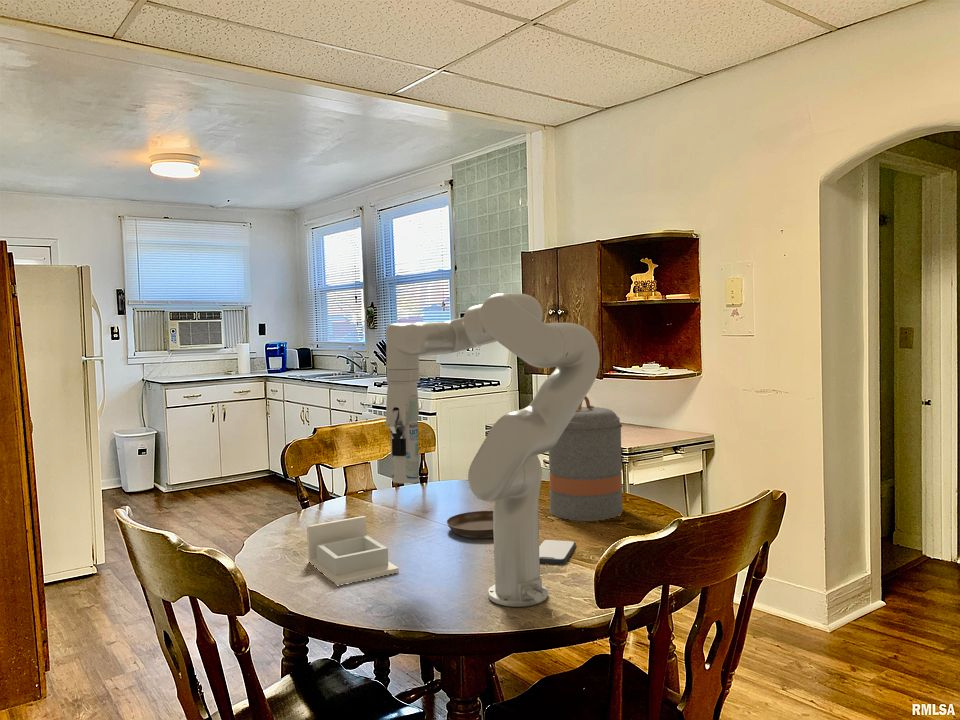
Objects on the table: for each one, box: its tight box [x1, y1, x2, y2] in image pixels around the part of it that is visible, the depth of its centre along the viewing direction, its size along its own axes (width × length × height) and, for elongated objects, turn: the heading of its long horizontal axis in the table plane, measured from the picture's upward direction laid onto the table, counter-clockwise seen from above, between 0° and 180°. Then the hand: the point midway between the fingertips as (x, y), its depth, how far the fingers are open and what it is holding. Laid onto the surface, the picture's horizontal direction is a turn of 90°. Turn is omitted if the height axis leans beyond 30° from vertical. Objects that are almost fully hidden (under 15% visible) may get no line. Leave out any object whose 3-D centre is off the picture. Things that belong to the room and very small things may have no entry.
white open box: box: [306, 515, 400, 586], centre depth 174 cm, size 20×15×9 cm
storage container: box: [548, 395, 624, 522], centre depth 219 cm, size 22×22×35 cm
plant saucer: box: [446, 510, 494, 539], centre depth 203 cm, size 21×21×3 cm
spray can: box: [389, 395, 420, 484], centre depth 170 cm, size 6×6×20 cm
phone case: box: [539, 539, 577, 566], centre depth 181 cm, size 9×2×16 cm
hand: (404, 452), depth 170 cm, fingers closed on spray can, 6 cm apart
